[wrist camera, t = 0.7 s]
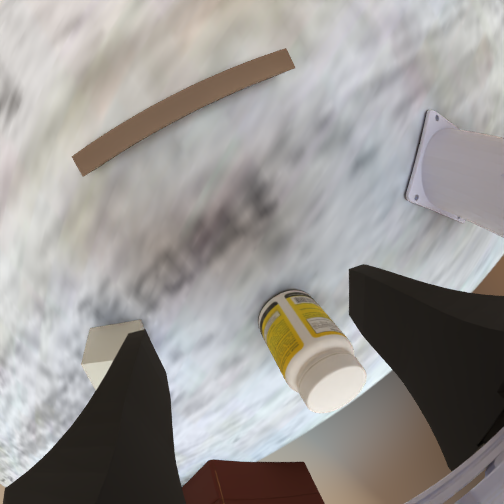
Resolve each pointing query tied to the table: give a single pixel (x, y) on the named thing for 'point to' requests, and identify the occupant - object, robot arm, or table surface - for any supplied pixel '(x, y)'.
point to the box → (252, 484)
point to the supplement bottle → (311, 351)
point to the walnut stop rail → (180, 107)
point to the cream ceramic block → (105, 348)
